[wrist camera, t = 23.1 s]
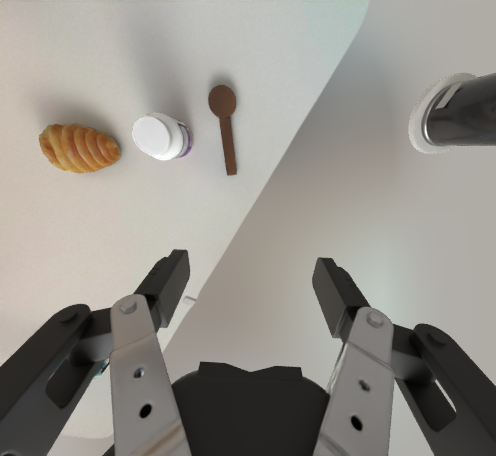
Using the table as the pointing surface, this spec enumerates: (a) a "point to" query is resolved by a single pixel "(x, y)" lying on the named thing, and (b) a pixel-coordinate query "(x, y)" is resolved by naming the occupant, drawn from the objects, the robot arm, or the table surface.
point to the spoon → (225, 121)
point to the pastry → (78, 148)
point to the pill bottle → (162, 136)
